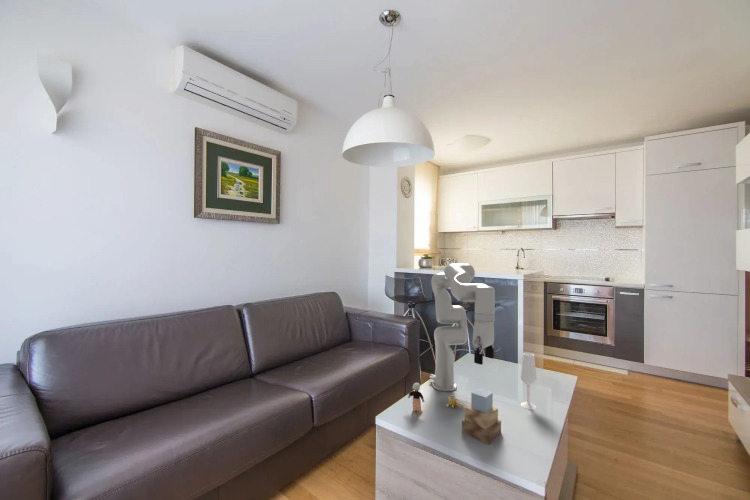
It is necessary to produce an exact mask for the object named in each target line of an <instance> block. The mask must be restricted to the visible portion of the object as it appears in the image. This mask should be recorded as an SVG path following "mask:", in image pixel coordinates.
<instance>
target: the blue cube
mask: <svg viewBox="0 0 750 500" xmlns="http://www.w3.org/2000/svg"><path fill="white" fill-rule="evenodd" d="M493 394H494V393H493V391H488V390H485V389H482V388H480V387H477V388H476V389H475V390H473V391H472V392H471V398H470V399H471V400H470V401H471V403H470V404H471V408H473V409H476V410H478V411H481V412H484V413H487V412H488V411H489V410H491V409H492V407H494V406H493V402H494V401H493V400H494V398H493V396H494V395H493Z"/></svg>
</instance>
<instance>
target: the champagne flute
mask: <svg viewBox="0 0 750 500" xmlns="http://www.w3.org/2000/svg"><path fill="white" fill-rule="evenodd" d="M535 360H536V357H535V354H534V353H532V352H523V353H522V360H521V369H520V379H521V380H522V381H523V383H524V384H525V385H526V401H523V402H521V403H520V407H522V408H524V409H526V410H536V409H537V406H536V405H535V404H533V403H532V402H531V400H530V399H531V395H530V394H531V393H530V392H531V391H530V390H531V386H532V385H533V384H535V383H536V382H537V370H536V361H535Z"/></svg>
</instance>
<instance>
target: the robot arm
mask: <svg viewBox="0 0 750 500" xmlns="http://www.w3.org/2000/svg"><path fill="white" fill-rule="evenodd" d="M475 273H476V272H475V267H473V265H471V264H469V263H449V264H448V265H446V266H445V267H444V269H443V272H439V273H438V272H437V273H434V274H433V275H432V277H431V288H432V292H433V296H434V301H435V303H434V305H435V319H436V321H437V323H439V324H441V325H442V324H448V325H444V326H437V327H436V328H435V329H434V331H433V337H434V345H435V373H434V374H433V373H430V375H429V379H430V380H433V381H432V383H431V384H432V388H434V389H436V390H438V391H441V392H453V391H456V389H458V388H457V386H458V385H457V383H455V376H454V375H455V353H454V351H453V349H452V348H451V346H455V345H456V346H457V345H465V344H466V343H467V342H468V337H469V336H468V320H467V311H466V309H465V308H464V306H461V305H459V304H458V305H453V304H452V296H453V297H454V298H455V299H456V300H457V301H459V302H464V303H466V302H467V303H469V302H474V322H473V323H474V324H473V329H472V330H473V331H472V350H473V353H474V354H473V355H474V356H473V362H474V363H475V364H477V365H481V366H482V365H483V362H484V359H483V358H484V355H483V351H484V349H485V353H484V354H485V358H488V359H494V355H495V353H494V349H495V345H494V344H495V339H496V336H495V324H494V323H495V321H496V320H495V317H496V314H495V312H496V310H495V309H496V308H495V307H496V305H495V304H496V290H495V288H494V287H493V286H490V285H487V284H485V283H471V282H472V281H473V280H474V277H475ZM448 290H450V292H451V294H450V293H449V291H448ZM451 295H452V296H451ZM449 324H452V325H449ZM453 324H455V325H453Z"/></svg>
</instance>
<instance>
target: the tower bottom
mask: <svg viewBox="0 0 750 500" xmlns="http://www.w3.org/2000/svg"><path fill="white" fill-rule="evenodd" d="M461 433H462V434H464V435H466V436H468V437H471V438H472V439H475V440H477V441H480V442H481V443H484V444H487V445H491V444H492V442H493V441H494V440H495V439H496V438H497V437H498V436H499V435H501V433H502V420H500V419H498V422H496V423H495V424H493V425H492V426H490V427H488V428H487V429H483V428H481V427H479V426H477V425H475V424H473V423H471V422H469V421H467V420H465V418H464V419H463V420H461Z"/></svg>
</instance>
